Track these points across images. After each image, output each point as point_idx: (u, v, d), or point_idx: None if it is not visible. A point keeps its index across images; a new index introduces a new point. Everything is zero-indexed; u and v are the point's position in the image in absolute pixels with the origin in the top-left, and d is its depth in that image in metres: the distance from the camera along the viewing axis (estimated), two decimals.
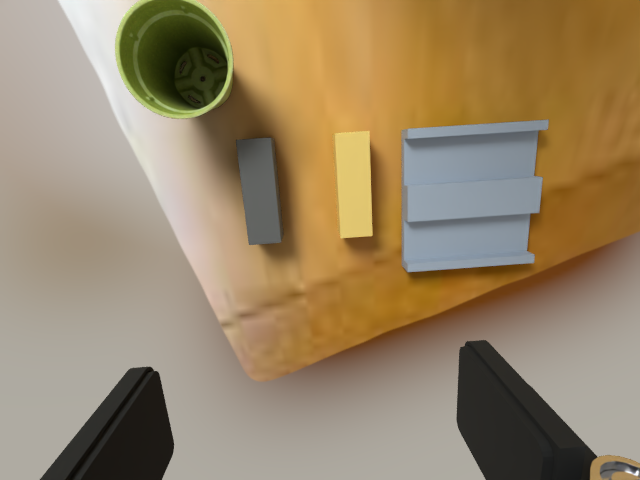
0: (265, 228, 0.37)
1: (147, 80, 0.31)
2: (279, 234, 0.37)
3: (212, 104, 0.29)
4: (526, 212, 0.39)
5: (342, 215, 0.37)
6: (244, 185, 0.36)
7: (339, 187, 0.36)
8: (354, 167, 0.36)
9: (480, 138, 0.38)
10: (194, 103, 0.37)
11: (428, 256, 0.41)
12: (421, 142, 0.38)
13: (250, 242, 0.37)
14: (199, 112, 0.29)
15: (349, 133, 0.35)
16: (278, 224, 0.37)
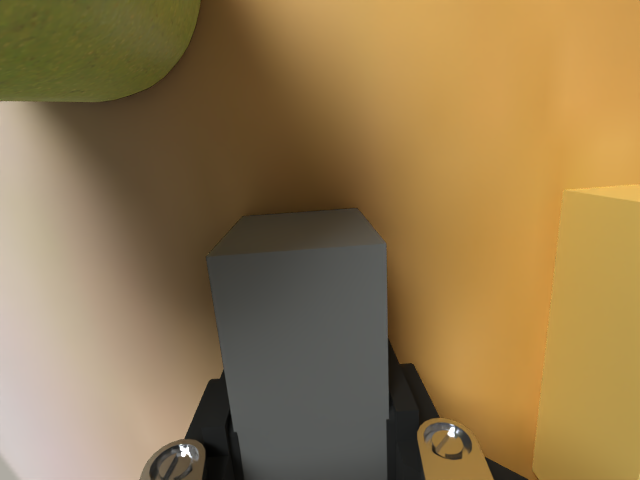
0: None
1: None
2: None
3: None
4: None
5: None
6: (250, 445, 0.08)
7: None
8: None
9: None
10: None
11: None
12: None
13: None
14: None
15: None
16: None
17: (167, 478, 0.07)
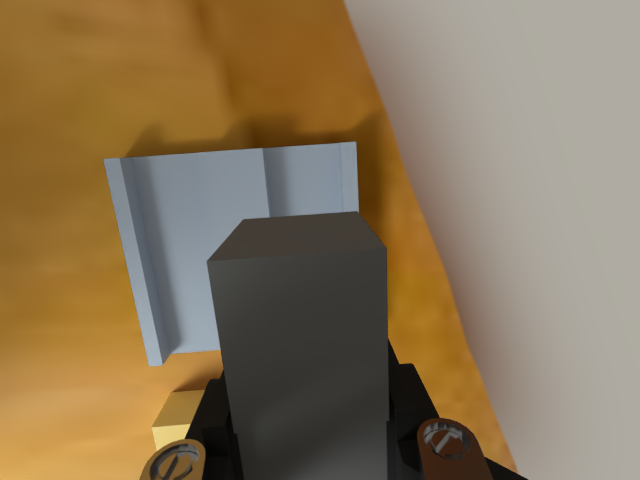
0: None
1: None
2: None
3: None
4: (262, 171, 0.22)
5: None
6: (250, 449, 0.08)
7: None
8: None
9: (156, 249, 0.25)
10: None
11: None
12: (172, 331, 0.27)
13: None
14: None
15: (158, 449, 0.26)
16: None
17: (167, 478, 0.07)
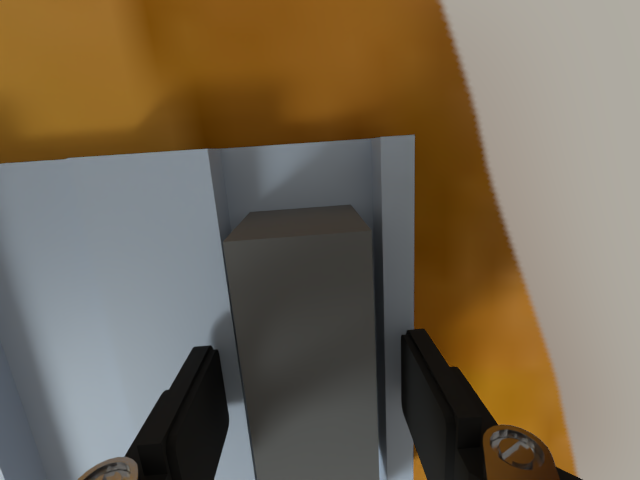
0: None
1: None
2: None
3: None
4: (210, 199, 0.10)
5: None
6: (258, 405, 0.09)
7: None
8: None
9: (14, 343, 0.13)
10: None
11: None
12: None
13: None
14: None
15: None
16: None
17: None
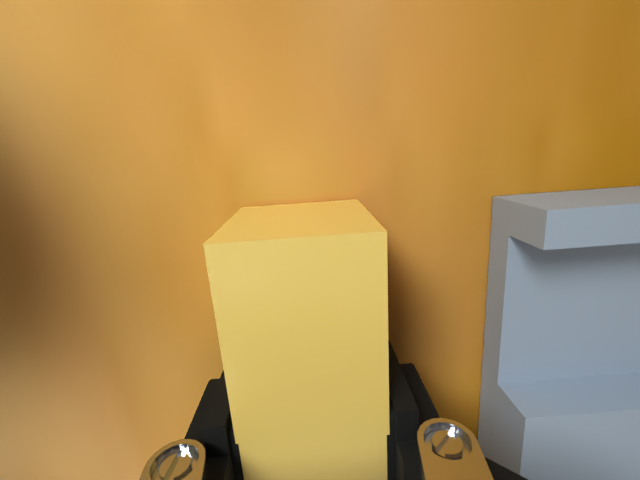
0: None
1: None
2: None
3: None
4: None
5: None
6: None
7: (247, 469, 0.08)
8: (313, 394, 0.08)
9: None
10: None
11: None
12: None
13: None
14: None
15: (282, 244, 0.07)
16: None
17: (167, 478, 0.07)
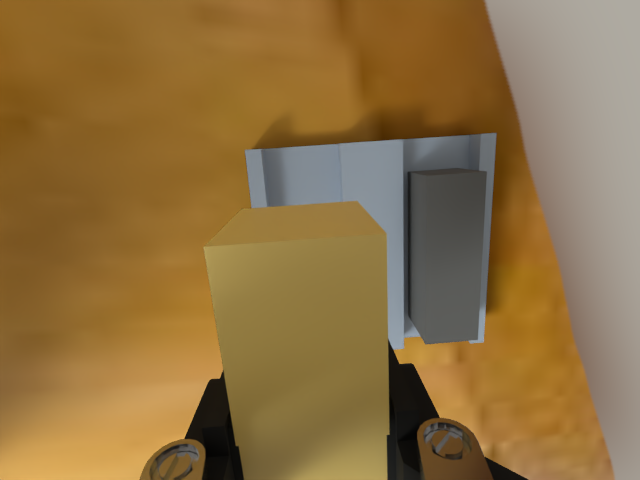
0: (455, 318, 0.22)
1: None
2: (476, 327, 0.23)
3: None
4: (401, 162, 0.22)
5: None
6: (431, 250, 0.21)
7: (247, 471, 0.08)
8: (313, 396, 0.08)
9: None
10: None
11: None
12: None
13: (428, 340, 0.23)
14: None
15: (281, 247, 0.07)
16: (477, 311, 0.22)
17: (167, 478, 0.07)
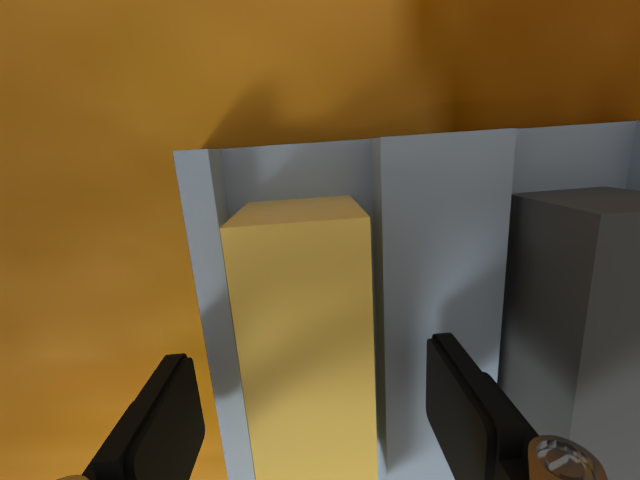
0: None
1: None
2: None
3: None
4: (508, 178, 0.10)
5: None
6: (588, 378, 0.09)
7: (254, 423, 0.09)
8: (310, 357, 0.09)
9: None
10: None
11: None
12: None
13: None
14: None
15: (284, 228, 0.08)
16: None
17: None
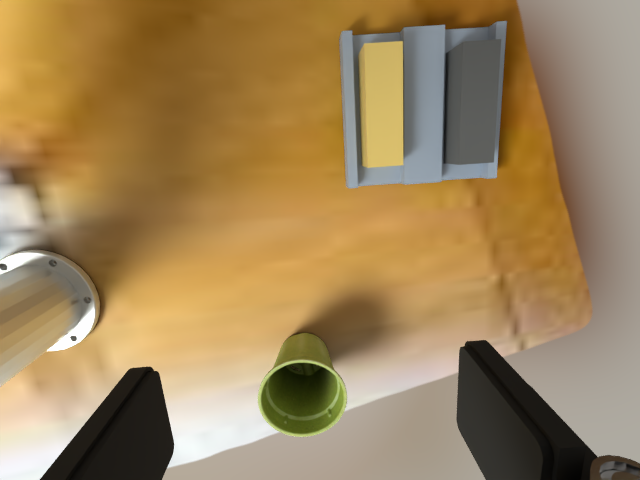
0: (479, 146, 0.34)
1: (313, 408, 0.40)
2: (493, 153, 0.34)
3: (336, 375, 0.36)
4: (443, 41, 0.34)
5: (370, 141, 0.33)
6: (464, 95, 0.33)
7: (368, 107, 0.32)
8: (385, 84, 0.32)
9: (357, 104, 0.36)
10: None
11: None
12: (359, 168, 0.38)
13: (461, 162, 0.34)
14: (342, 385, 0.36)
15: (380, 43, 0.31)
16: (493, 141, 0.34)
17: None
